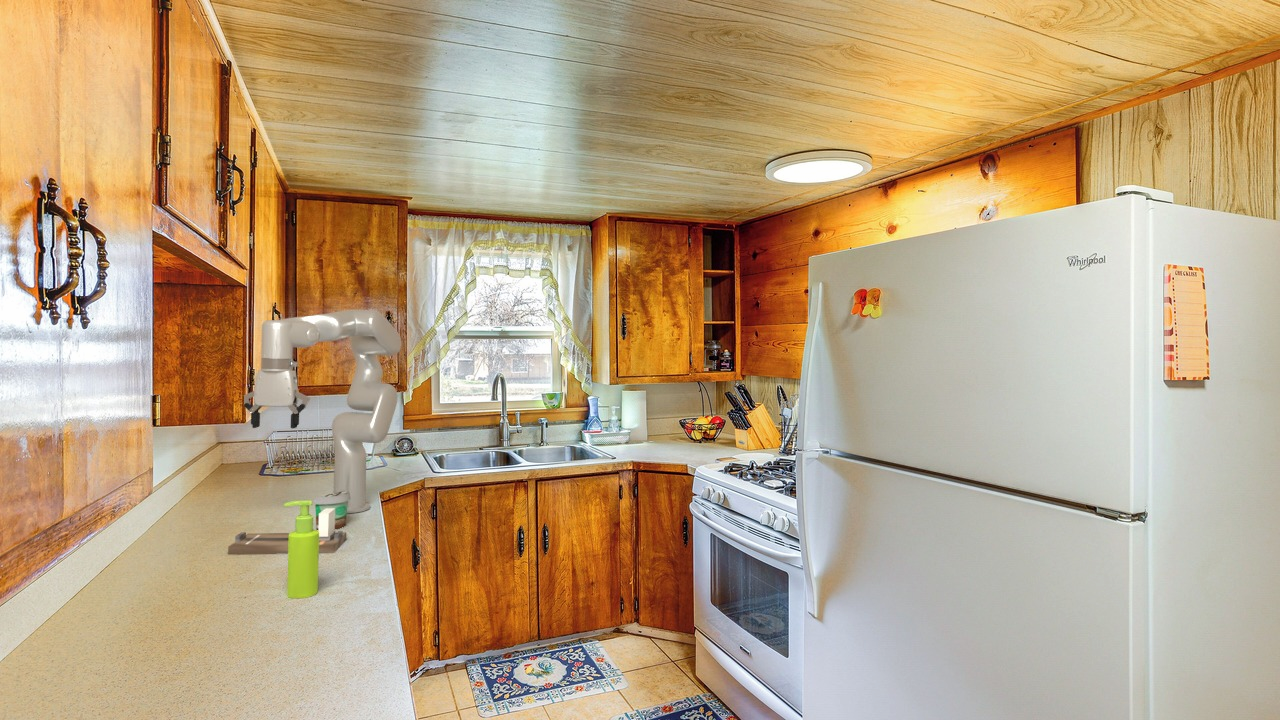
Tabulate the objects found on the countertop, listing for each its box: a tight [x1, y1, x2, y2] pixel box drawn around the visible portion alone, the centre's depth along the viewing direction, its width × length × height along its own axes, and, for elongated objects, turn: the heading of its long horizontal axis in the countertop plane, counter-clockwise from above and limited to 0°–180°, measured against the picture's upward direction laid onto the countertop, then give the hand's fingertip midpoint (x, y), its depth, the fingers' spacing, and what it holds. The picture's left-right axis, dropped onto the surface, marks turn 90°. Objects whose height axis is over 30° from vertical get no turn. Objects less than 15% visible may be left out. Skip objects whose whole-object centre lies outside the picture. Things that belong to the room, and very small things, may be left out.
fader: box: [318, 508, 336, 541], centre depth 176 cm, size 6×3×7 cm, turn 10°
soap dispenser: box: [283, 499, 320, 599], centre depth 143 cm, size 6×7×20 cm
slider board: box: [227, 530, 347, 555], centre depth 175 cm, size 12×25×4 cm, turn 100°
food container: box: [313, 489, 351, 530], centre depth 195 cm, size 12×6×10 cm, turn 168°
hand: (275, 427), depth 182 cm, fingers open, 9 cm apart
